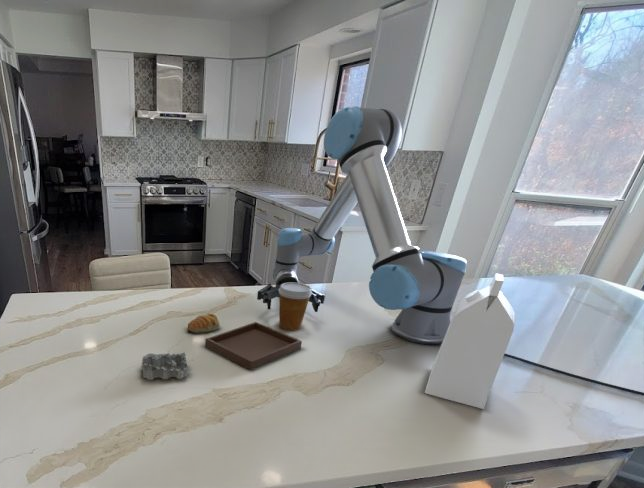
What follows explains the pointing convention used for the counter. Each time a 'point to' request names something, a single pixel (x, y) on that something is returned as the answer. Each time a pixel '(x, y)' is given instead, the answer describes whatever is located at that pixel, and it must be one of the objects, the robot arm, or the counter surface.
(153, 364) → the egg carton
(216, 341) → the serving tray
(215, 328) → the pastry
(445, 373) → the milk
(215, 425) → the counter surface
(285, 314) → the disposable coffee cup
